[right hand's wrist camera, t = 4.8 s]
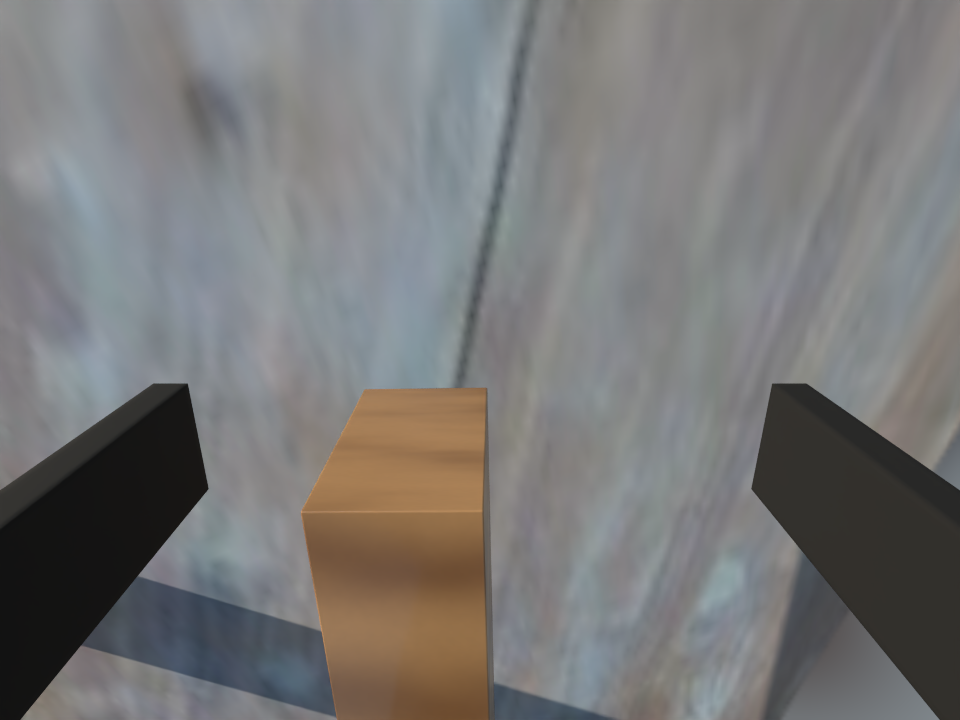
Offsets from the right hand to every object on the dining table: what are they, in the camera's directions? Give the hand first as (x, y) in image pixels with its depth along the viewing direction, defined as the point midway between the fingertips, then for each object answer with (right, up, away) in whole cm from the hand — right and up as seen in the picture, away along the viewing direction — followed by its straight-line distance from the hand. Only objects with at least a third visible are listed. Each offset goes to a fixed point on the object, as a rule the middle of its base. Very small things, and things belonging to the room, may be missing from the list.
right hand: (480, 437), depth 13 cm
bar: (-2, -12, +19) cm, 22 cm away
